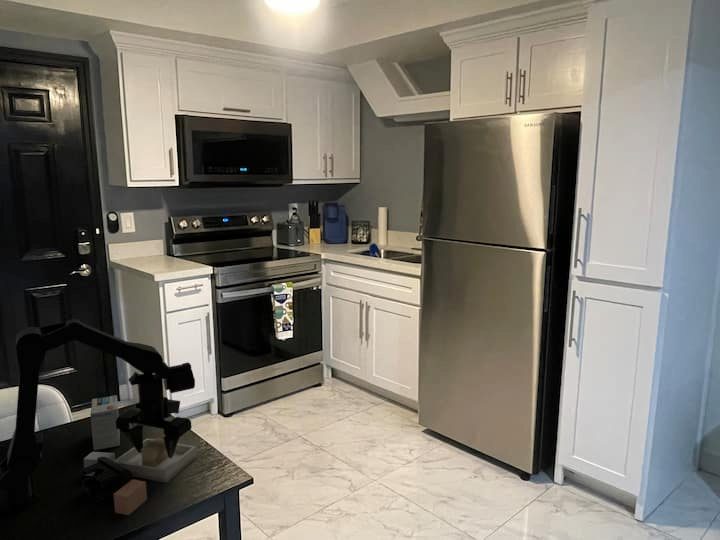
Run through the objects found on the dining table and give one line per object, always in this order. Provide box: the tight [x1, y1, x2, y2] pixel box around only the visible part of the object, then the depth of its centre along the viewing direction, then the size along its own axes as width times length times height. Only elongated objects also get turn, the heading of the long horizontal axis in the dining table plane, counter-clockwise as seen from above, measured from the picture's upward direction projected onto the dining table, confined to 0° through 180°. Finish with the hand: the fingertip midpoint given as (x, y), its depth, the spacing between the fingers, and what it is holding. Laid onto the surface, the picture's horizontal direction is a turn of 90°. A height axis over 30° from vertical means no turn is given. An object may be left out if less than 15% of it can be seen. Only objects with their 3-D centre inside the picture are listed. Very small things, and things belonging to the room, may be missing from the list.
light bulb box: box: [89, 395, 121, 451], centre depth 146 cm, size 11×7×11 cm, turn 25°
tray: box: [114, 438, 198, 484], centre depth 134 cm, size 12×15×3 cm
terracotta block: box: [113, 478, 148, 516], centre depth 117 cm, size 6×4×4 cm, turn 163°
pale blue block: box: [83, 451, 116, 477], centre depth 130 cm, size 6×4×4 cm, turn 83°
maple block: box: [141, 437, 168, 467], centre depth 134 cm, size 6×4×4 cm, turn 163°
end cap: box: [81, 457, 134, 506], centre depth 122 cm, size 10×7×7 cm
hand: (155, 454), depth 134 cm, fingers open, 9 cm apart
